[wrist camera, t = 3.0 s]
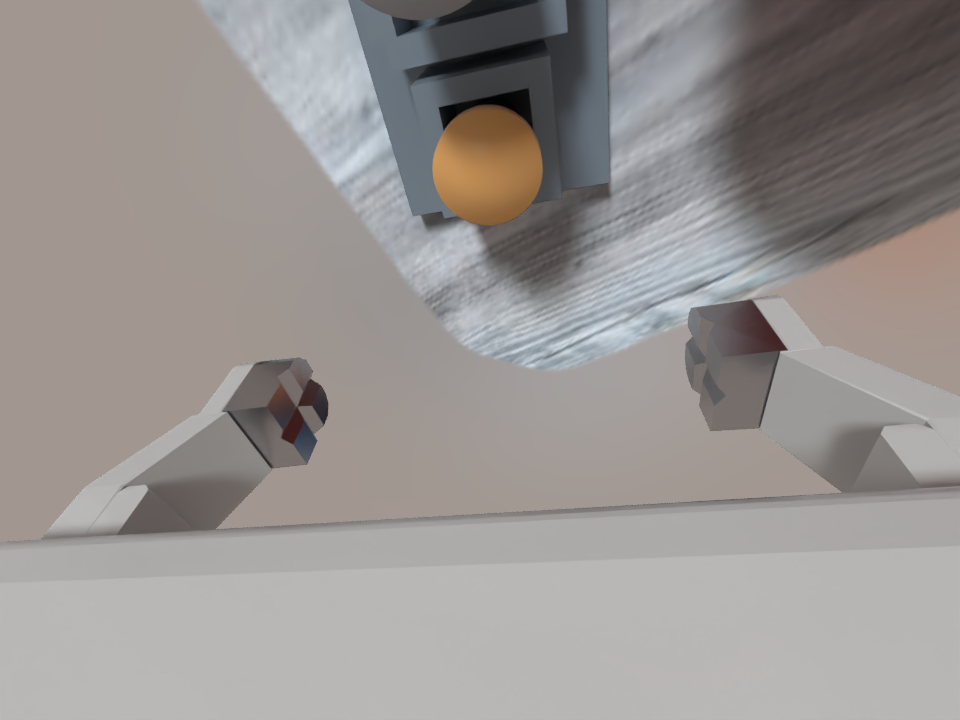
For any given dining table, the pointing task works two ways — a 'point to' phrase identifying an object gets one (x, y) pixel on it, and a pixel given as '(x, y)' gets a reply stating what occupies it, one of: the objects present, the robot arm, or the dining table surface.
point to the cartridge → (416, 8)
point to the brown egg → (488, 164)
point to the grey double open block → (494, 84)
